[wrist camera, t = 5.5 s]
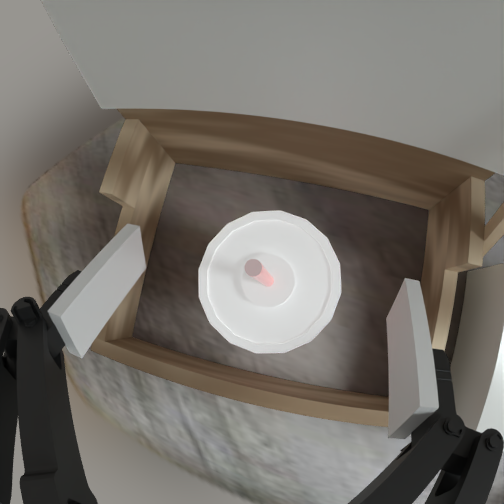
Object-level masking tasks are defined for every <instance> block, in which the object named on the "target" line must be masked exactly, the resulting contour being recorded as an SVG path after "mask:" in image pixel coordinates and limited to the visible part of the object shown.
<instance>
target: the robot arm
mask: <svg viewBox="0 0 504 504" xmlns="http://www.w3.org/2000/svg"><path fill="white" fill-rule="evenodd" d="M145 269H146V262H145V256H144V250H143V244H142V238H141V232H140V226H138V225H132V224H126V225H125V226H124V227H123V228H122V229H121V230H120V231H119V233H118V234H117V235H116V236H115V237H114V238H113V239H112V240H111V241H110V242H109V243H108V244H107V245H106V246H105V247H104V248H103V249H102V250H101V251H100V252H99V253H98V254H97V255H96V257H95V258H94V259H93V260H92V261H91V262H90V263H89V264H88V265H87V266H86V267H85V269H84V270H83V271H79V270H77V271H76V272H74V273H72V274H71V275H69V276H68V277H67V278H66V279H65V280H64V282H63V283H62V285H60V286H59V287H58V288H57V290H56V291H55V292H54V293H53V294H52V295H51V296H50V297H49V299H48V300H47V301H46V302H45V303H44V304H43V306H42V307H41V308H40V309H39V307H38V305H37V303H36V301H35V300H34V299H33V298H31V297H23V298H21V299H19V300H18V301H17V302H15V303H14V305H13V306H12V309H11V312H12V314H13V316H14V317H11V316H10V315H9V313H8V312H7V310H6V309H4V308H0V504H10V500H11V492H12V472H13V457H14V445H15V435H16V427H17V418H19V429H20V439H21V447H22V454H23V461H24V468H25V473H24V475H23V476H21V478H20V489H21V493H22V499H23V503H24V504H98V503H97V500H96V498H95V496H94V495H93V493H92V492H91V490H90V488H89V486H88V483H87V480H86V476H85V473H84V469H83V465H82V461H81V457H80V453H79V449H78V444H77V440H76V435H75V430H74V425H73V420H72V414H71V408H70V402H69V396H68V388H67V381H66V373H65V364H64V354H63V351H62V348H63V347H64V346H66V347H67V349H68V351H69V353H71V354H73V355H75V356H78V357H80V358H83V356H84V355H85V353H86V352H87V350H88V349H89V347H90V346H91V344H92V343H93V341H94V340H95V338H96V337H97V336H98V334H99V333H100V331H101V330H102V328H103V327H104V325H105V324H106V323H107V321H108V320H109V318H110V317H111V316H112V314H113V313H114V311H115V310H116V309H117V307H118V306H119V304H120V303H121V302H122V300H123V299H124V297H125V296H126V295H127V293H128V292H129V291H130V289H131V288H132V287H133V285H134V284H135V282H136V281H137V280H138V278H139V277H140V276H141V274H142V273H143V272H144V270H145ZM386 322H387V339H388V365H389V421H388V438H398V439H405V438H407V437H408V436H409V435H410V434H411V443H409V444H408V445H407V446H406V447H404V448H403V449H402V450H401V451H402V452H401V453H400V454H399V455H398V456H397V457H396V458H395V459H394V460H393V461H392V463H391V464H390V465H389V466H388V467H387V468H386V469H385V470H384V471H383V472H382V473H381V474H380V475H379V476H378V477H377V478H376V479H374V480H373V481H372V482H371V483H370V484H369V485H368V486H367V487H366V488H365V489H364V490H363V491H362V492H361V493H359V494H358V495H357V496H356V497H355V498H354V499H353V500H351V501H350V502H349V503H348V504H412V503H413V502H414V501H415V500H416V499H417V497H418V496H419V495H420V494H421V493H422V492H423V490H424V489H425V488H426V487H427V486H428V484H429V483H430V482H431V481H432V479H433V478H434V477H435V476H436V474H437V473H438V472H439V470H440V469H441V472H440V474H439V476H438V478H437V481H436V483H435V485H434V487H433V489H432V491H431V493H430V495H429V497H428V498H427V500H426V502H425V504H485V503H486V500H487V498H488V495H489V492H490V490H491V487H492V484H493V481H494V478H495V475H496V472H497V469H498V466H499V462H500V459H501V456H502V452H503V448H504V440H503V437H502V435H501V433H500V432H499V431H497V430H496V429H493V428H490V429H486V430H485V431H484V432H483V433H480V432H478V431H475V430H473V429H470V428H468V427H466V426H465V424H464V422H463V420H462V419H461V417H460V416H459V415H457V413H456V407H455V398H454V390H453V383H452V376H451V373H450V371H451V369H450V363H449V359H448V357H447V355H446V354H445V352H444V350H441V349H433V348H432V344H431V338H430V332H429V326H428V320H427V315H426V310H425V305H424V300H423V295H422V290H421V286H420V281H418V280H413V279H408V278H405V279H404V281H403V284H402V286H401V288H400V290H399V292H398V295H397V297H396V299H395V301H394V303H393V305H392V308H391V310H390V312H389V314H388V316H387V318H386ZM4 352H5V353H4ZM3 353H4V355H3ZM18 416H19V417H18Z"/></svg>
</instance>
